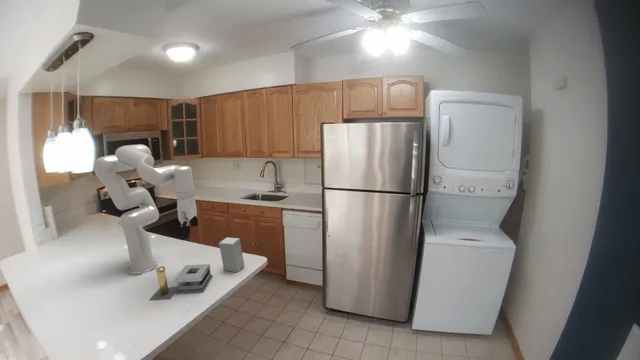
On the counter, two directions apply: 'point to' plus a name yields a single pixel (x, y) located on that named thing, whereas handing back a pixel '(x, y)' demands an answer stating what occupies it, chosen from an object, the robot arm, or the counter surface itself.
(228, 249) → the skincare box
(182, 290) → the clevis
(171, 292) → the mat
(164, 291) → the pin
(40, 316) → the counter surface
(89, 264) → the counter surface
